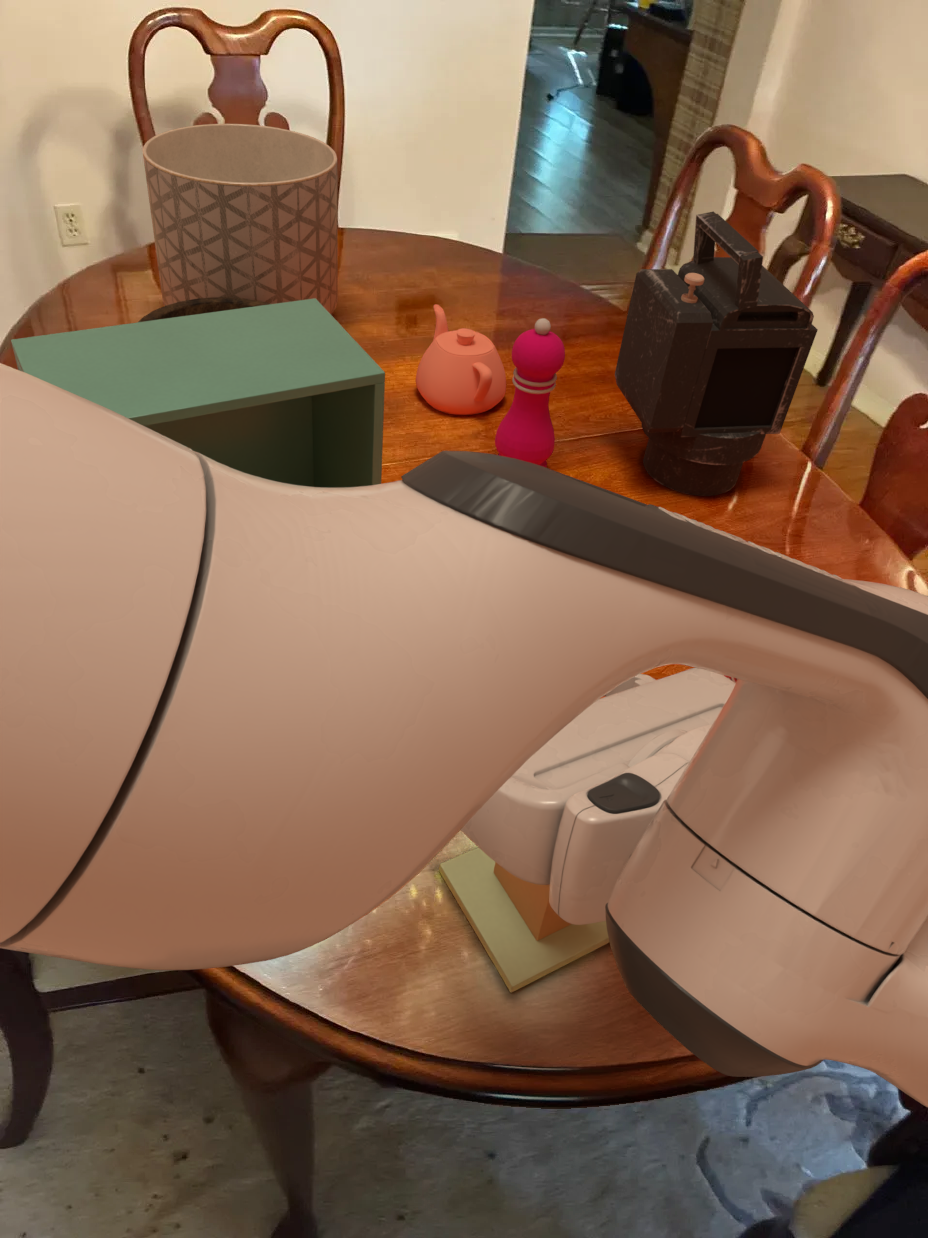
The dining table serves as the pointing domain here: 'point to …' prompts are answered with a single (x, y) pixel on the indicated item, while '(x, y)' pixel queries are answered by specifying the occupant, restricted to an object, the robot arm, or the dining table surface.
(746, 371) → the lantern
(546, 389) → the pepper mill
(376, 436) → the green hollow box
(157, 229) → the planter
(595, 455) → the dining table surface
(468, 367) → the teapot
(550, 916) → the block
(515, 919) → the mat
